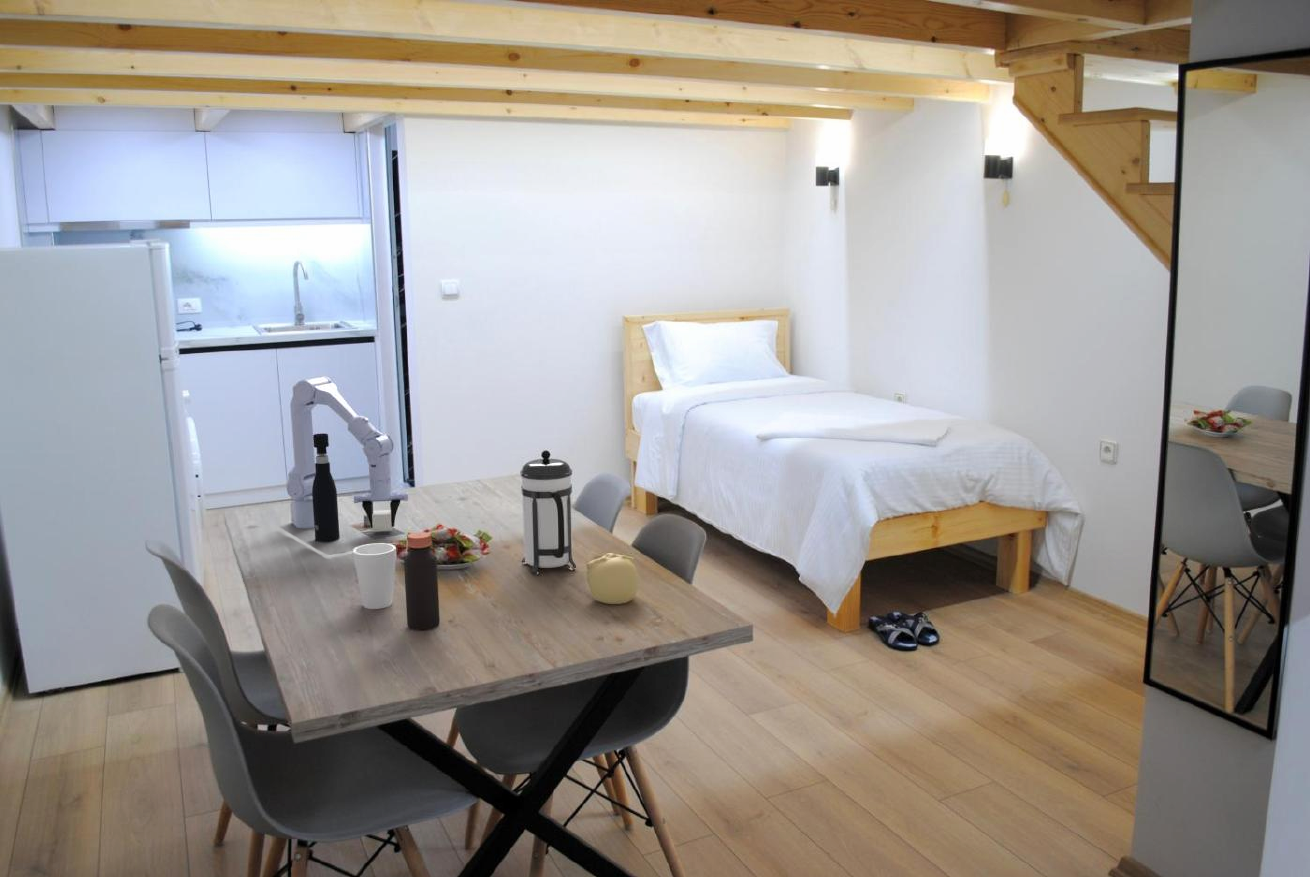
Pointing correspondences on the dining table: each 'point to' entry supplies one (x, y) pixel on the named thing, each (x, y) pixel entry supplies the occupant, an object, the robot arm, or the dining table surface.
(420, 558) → the dark brown water bottle
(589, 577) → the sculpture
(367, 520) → the pin stand
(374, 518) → the white block
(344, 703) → the dining table surface
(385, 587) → the foam cup
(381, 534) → the mat
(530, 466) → the coffee press
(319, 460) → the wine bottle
